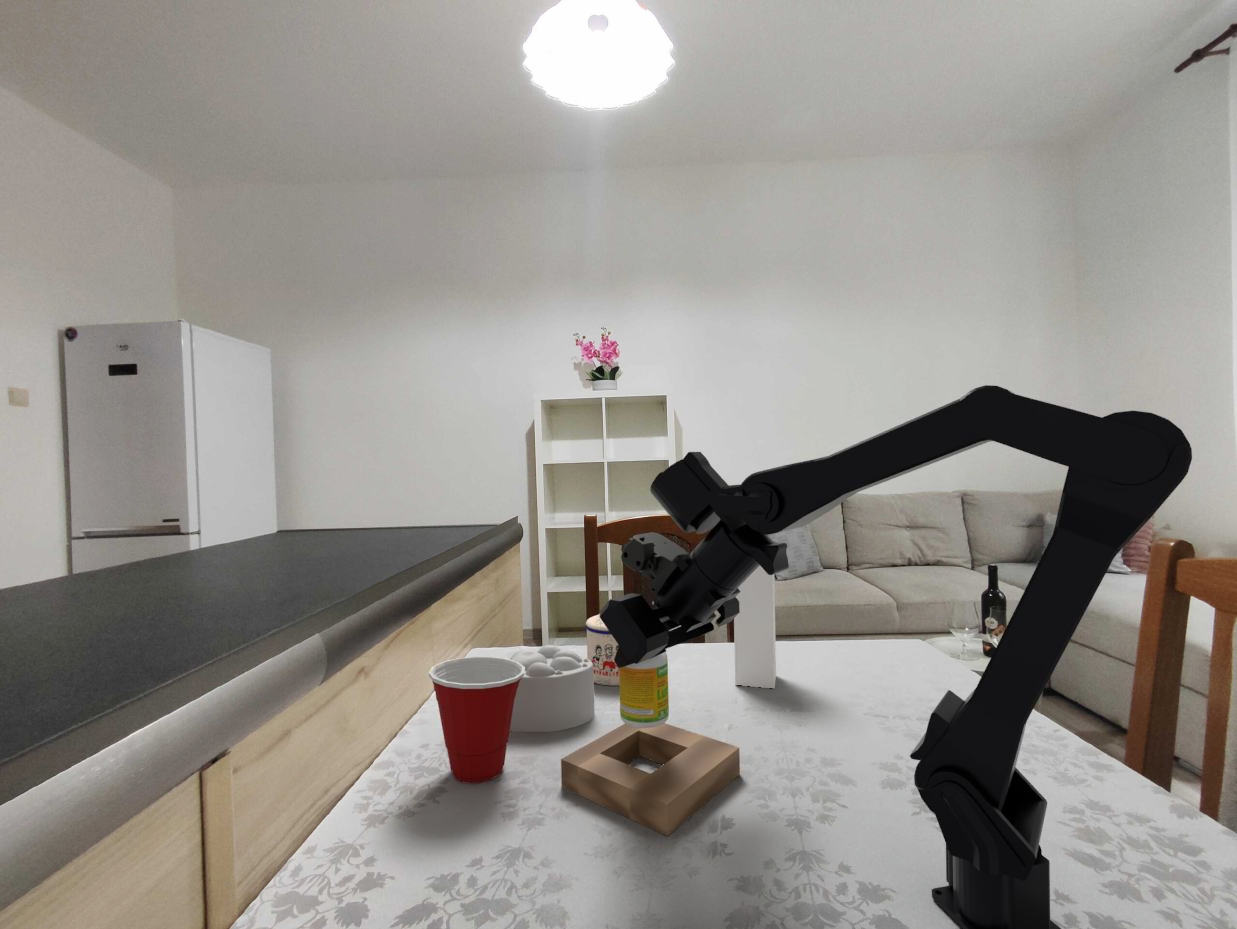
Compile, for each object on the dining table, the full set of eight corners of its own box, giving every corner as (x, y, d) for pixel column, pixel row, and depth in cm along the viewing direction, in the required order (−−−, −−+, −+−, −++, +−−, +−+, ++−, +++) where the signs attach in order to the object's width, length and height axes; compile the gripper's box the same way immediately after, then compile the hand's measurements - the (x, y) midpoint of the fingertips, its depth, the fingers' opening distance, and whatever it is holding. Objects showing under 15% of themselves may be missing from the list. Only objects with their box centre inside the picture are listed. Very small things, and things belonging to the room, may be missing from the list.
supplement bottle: (665, 730, 64) (663, 639, 64) (615, 727, 65) (613, 637, 65) (671, 709, 69) (669, 625, 69) (625, 707, 70) (623, 623, 70)
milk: (738, 672, 99) (735, 538, 99) (776, 675, 97) (773, 539, 97) (734, 686, 93) (731, 543, 93) (775, 689, 91) (772, 544, 91)
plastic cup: (546, 770, 69) (543, 666, 69) (458, 808, 62) (455, 691, 62) (497, 738, 77) (495, 645, 77) (415, 768, 70) (412, 665, 70)
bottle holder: (739, 774, 67) (739, 747, 67) (667, 836, 56) (667, 804, 56) (640, 738, 76) (639, 715, 76) (561, 786, 65) (561, 758, 65)
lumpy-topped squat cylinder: (510, 700, 89) (509, 642, 89) (597, 700, 89) (596, 641, 89) (492, 732, 79) (490, 666, 79) (590, 732, 78) (589, 666, 78)
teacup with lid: (584, 687, 94) (582, 612, 94) (588, 667, 103) (586, 599, 103) (661, 686, 93) (660, 611, 93) (658, 666, 103) (657, 598, 102)
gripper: (713, 503, 71) (642, 585, 78) (611, 516, 57) (535, 616, 64) (777, 576, 66) (695, 657, 73) (683, 611, 52) (592, 708, 59)
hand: (633, 656), depth 68 cm, fingers closed on supplement bottle, 5 cm apart
